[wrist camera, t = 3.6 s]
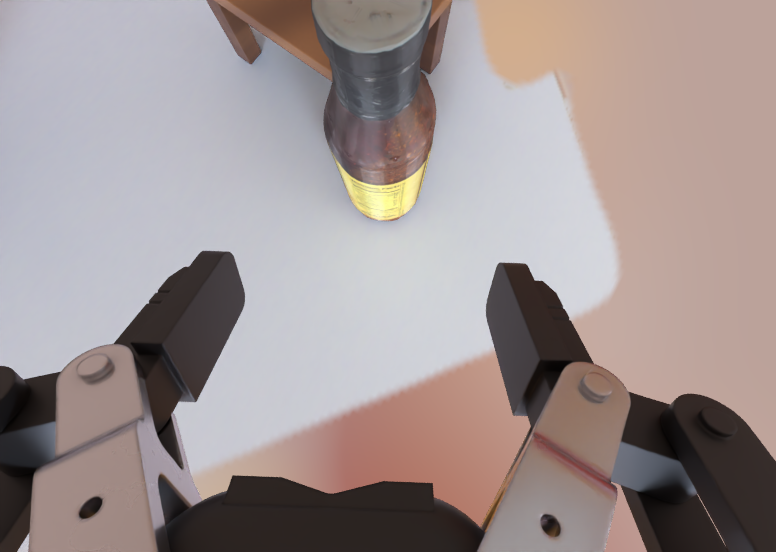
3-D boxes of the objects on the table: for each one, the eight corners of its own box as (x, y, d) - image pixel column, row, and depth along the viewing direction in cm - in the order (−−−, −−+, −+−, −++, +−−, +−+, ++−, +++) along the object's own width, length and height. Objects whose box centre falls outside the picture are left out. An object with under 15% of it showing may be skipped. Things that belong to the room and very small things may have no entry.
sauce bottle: (371, 145, 31) (344, -140, 12) (431, 178, 31) (510, -58, 11) (334, 206, 31) (239, 14, 11) (395, 241, 30) (411, 106, 11)
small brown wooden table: (234, 55, 32) (184, -29, 24) (306, -30, 33) (281, -138, 25) (372, 152, 31) (368, 97, 23) (442, 61, 32) (460, -22, 24)
